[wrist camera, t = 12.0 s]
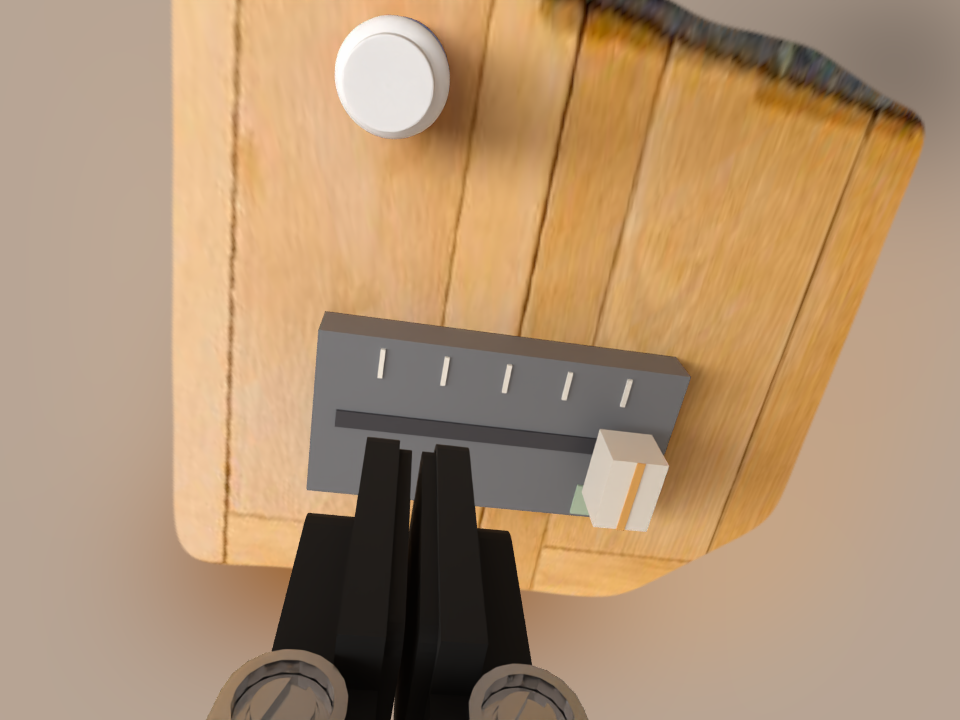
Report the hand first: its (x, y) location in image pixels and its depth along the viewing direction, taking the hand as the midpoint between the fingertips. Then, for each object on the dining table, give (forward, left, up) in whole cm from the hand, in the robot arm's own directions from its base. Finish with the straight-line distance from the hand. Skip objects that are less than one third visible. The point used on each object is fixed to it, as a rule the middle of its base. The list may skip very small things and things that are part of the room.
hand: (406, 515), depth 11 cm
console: (+16, +7, -32) cm, 37 cm away
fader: (+16, +15, -29) cm, 36 cm away
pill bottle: (-5, -2, -32) cm, 33 cm away
